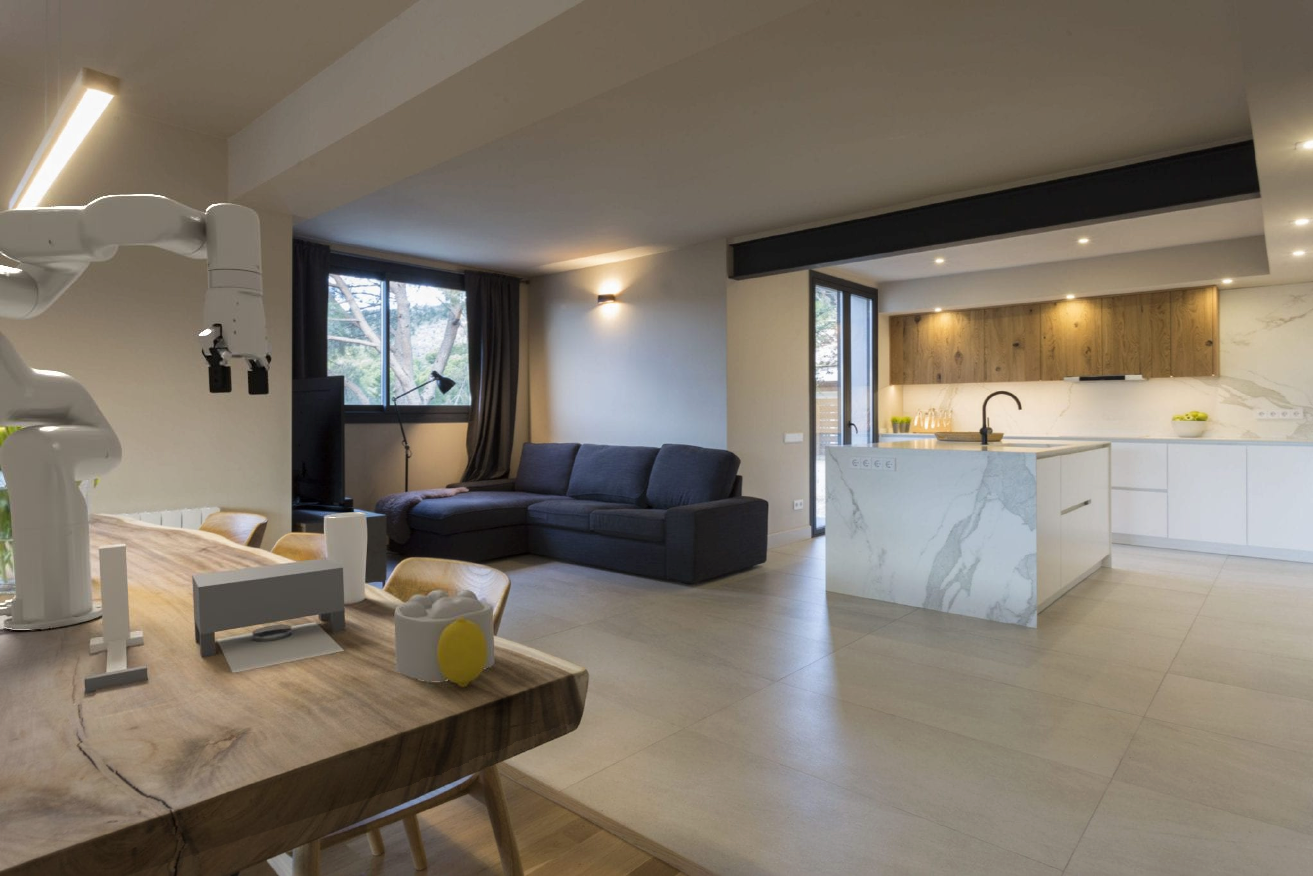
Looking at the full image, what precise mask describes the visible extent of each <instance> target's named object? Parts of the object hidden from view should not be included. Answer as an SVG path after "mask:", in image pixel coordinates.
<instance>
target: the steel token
mask: <svg viewBox="0 0 1313 876" xmlns="http://www.w3.org/2000/svg"><path fill="white" fill-rule="evenodd" d="M291 626H292V625H289V624H274V625H267V626H263V627H259V628H256V629H255V630H253V631H252V632H251V633H252V638H253V641H256V642H269V641H276V640H280V639H284V638H287V637H289V636H291V635H292V628H291Z"/></svg>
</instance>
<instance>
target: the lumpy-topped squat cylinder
mask: <svg viewBox="0 0 1313 876" xmlns="http://www.w3.org/2000/svg"><path fill="white" fill-rule="evenodd" d="M393 616H394V617H393V618H394V638H395V639H394V641H395V670H396V671H397V673H399V672H400V673H399V674H401V673H402V674H401V675H403V674H404V675H403V676H405V675H406V676H405V677H407V676H409V677H408V678H410V677H412V678H411V679H413V678H416V679H420V680H424V681H445V680H447V678H445V676H444V675H443V674H442V672H441V670H440V668H439V665H438V660H437V648H438V643H439V639H440V636H441V634H442V632H443V631H444V629H445V628H446V627H447V626H449V625H450V624H451V623H453V622H455V621H457V619H458V618H465V619H466V620H468V621H471V622H473V623H475V624H476V625H478V626H479V627H480V628H481V630H482V632H483V634H484V636H485V640H486V645H487V660H486V664H485V667H484V668H487V667H490V666H491V665H493V664H494V662H495V659H496V658H495V637H494V635H495V634H494V629H495V628H494V609H493V606H492V605H491V604H490V603H488V602H486V601H482V600H479V599H478V596H477V594H476V593H474V592H473V591H472V590H471V589H464V590H461V591H459V592H458V593H456V594H454V596H449V594H448V593H447V592H445V591H444V590H443V589H435V590H432V591H430V592H429V593H428V594H427V595H423V594H420V593H419V594H417V593H416V594H414V595H412V596H411V597H410V598H409V599H408V601H405V602H403V603H400V604H399V605H397V607H395V610H394V615H393ZM494 665H495V664H494ZM494 665H493V666H494ZM490 668H491V667H490ZM416 679H415V680H416Z"/></svg>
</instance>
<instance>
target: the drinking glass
mask: <svg viewBox="0 0 1313 876" xmlns="http://www.w3.org/2000/svg"><path fill="white" fill-rule="evenodd" d="M367 523H368V522H367V514H366V512H361V511H359V512H357V511H355V512H340V513H333V514H327V515H324V516H323V534H324V536H323V537H324V546H325V547H324V548H325V554H326V555H325V556H326V558H328V559H330V560H331V561H333V562H335V563H336V564H338V565H340V566H341V567H343V583H344V605H351V604H358V603H361V602H362V601H364V600H365V599H366V568H367V567H366V566H367V552H368V551H367V548H368V546H367V545H368V524H367Z"/></svg>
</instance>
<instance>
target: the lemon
mask: <svg viewBox="0 0 1313 876" xmlns="http://www.w3.org/2000/svg"><path fill="white" fill-rule="evenodd" d="M437 660H438V665H439V668H440V670H441V672H442V674H443V675H444V676H445V678H447V679H448V680H450V681H449V682H452V683H456V684H457V685H458V686H459V687H460V688H466V687H467V686H468V685H469V683H470V682H472V681H474V680H476V678H478V677H479V676H480V675H481V673H482V672H483V671H484V670H483V669H484V667H485V664H486V660H487V645H486V640H485V636H484V634H483V632H482V630H481V628H480V627H479V626H478V625H476V624H475V623H473V622H471V621H468V620H466V619H465V618H458V619H457V621H455V622H453V623H451V624H450V625H449V626H447V627H446V628H445V629H444V631H443V632H442V634H441V636H440V639H439V643H438V648H437ZM465 686H466V687H465Z"/></svg>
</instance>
